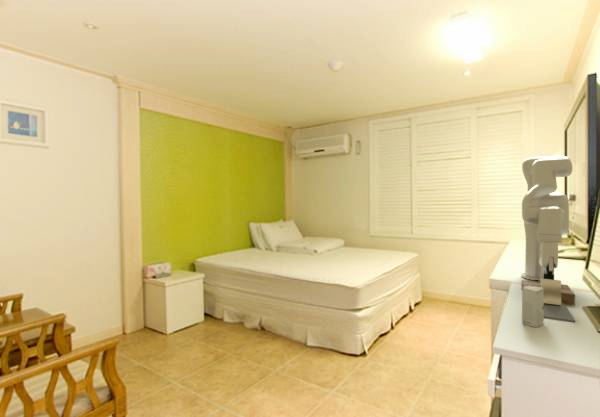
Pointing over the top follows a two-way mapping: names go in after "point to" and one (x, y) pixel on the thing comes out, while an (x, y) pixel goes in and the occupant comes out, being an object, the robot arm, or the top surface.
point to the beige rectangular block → (551, 291)
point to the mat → (557, 312)
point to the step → (566, 292)
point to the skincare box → (532, 306)
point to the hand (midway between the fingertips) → (548, 283)
